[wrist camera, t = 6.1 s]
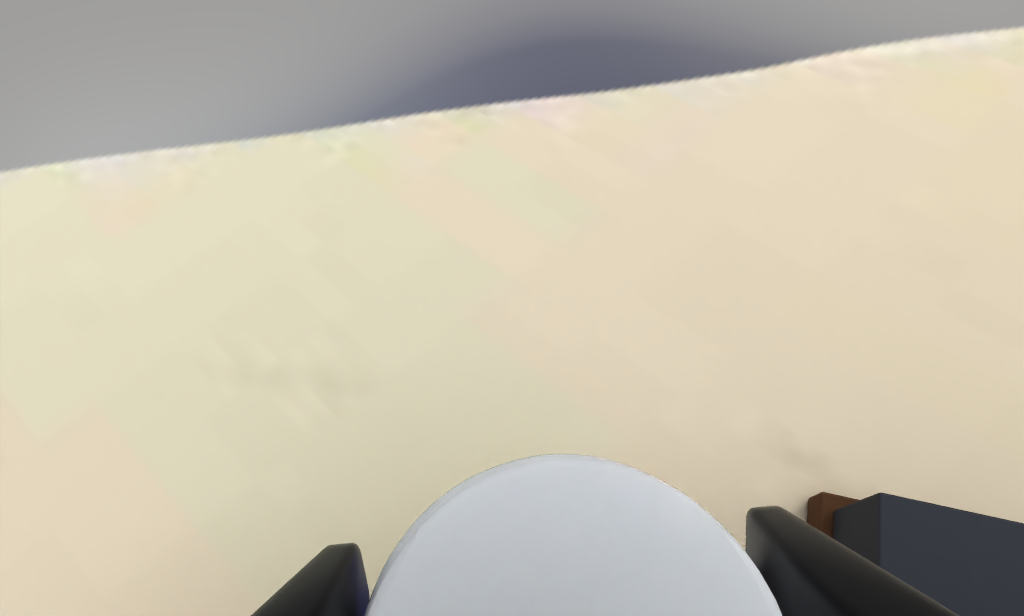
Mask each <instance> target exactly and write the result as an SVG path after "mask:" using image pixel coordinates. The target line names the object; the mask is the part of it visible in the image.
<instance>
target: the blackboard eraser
mask: <svg viewBox="0 0 1024 616" xmlns="http://www.w3.org/2000/svg"><path fill="white" fill-rule="evenodd" d="M807 523H808V524H810V525H811V526H813V527H814V528H816V529H818V530H819V531H821V532H823V533H824V534H826V535H828V536H829V537H831V538H833V539H834V540H836V541H837V542H839V543H841V544H842V545H844V546H846V547H847V548H849V549H851V550H852V551H854V552H856V553H857V554H859V555H860V556H862V557H864V558H865V559H867V560H869V561H870V562H872V563H874V564H875V565H877V566H879V567H880V568H882V569H883V570H885V571H887V572H888V573H890V574H892V575H893V576H895V577H897V578H898V579H900V580H902V581H903V582H905V583H906V584H908V585H910V586H911V587H913V588H915V589H916V590H918V591H920V592H921V593H923V594H925V595H926V596H928V597H929V598H931V599H933V600H934V601H936V602H938V603H939V604H941V605H943V606H944V607H946V608H948V609H949V610H951V611H952V612H954V613H956V614H957V615H959V616H1024V524H1023V523H1019V522H1014V521H1009V520H1005V519H1000V518H996V517H991V516H986V515H982V514H977V513H973V512H968V511H963V510H959V509H954V508H950V507H945V506H940V505H936V504H931V503H927V502H922V501H917V500H913V499H908V498H904V497H899V496H895V495H890V494H885V493H878V494H875V495H873V496H870V497H867V498H865V499H862V500H857V499H852V498H848V497H843V496H839V495H834V494H830V493H825V492H821V493H819V494H817V495H815V496H813V497H811V498H809V502H808V521H807Z"/></svg>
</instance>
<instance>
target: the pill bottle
mask: <svg viewBox="0 0 1024 616" xmlns="http://www.w3.org/2000/svg"><path fill="white" fill-rule="evenodd" d="M365 616H782V614H781V611H780V609H779V606H778V604H777V602H776V599H775V597H774V596H773V594H772V592H771V590H770V589H769V587H768V585H767V583H766V582H765V580H764V578H763V576H762V575H761V573H760V571H759V570H758V568H757V567H756V566H755V564H754V563H753V561H752V560H751V559H750V557H749V556H748V554H747V553H746V552H745V551H744V550H743V548H742V547H741V546H740V545H739V543H738V542H737V541H736V540H735V539H734V538H733V536H732V535H731V534H730V533H729V532H728V531H727V530H726V529H725V528H724V527H723V526H722V525H721V524H720V523H719V522H718V521H717V520H716V519H715V518H714V517H713V516H711V515H710V514H709V513H708V512H707V511H706V510H705V509H703V508H702V507H701V506H700V505H699V504H697V503H696V502H695V501H693V500H692V499H690V498H689V497H688V496H686V495H685V494H684V493H682V492H680V491H679V490H677V489H675V488H673V487H671V486H670V485H668V484H666V483H664V482H662V481H661V480H659V479H657V478H655V477H653V476H651V475H649V474H647V473H645V472H642V471H640V470H637V469H635V468H633V467H630V466H628V465H625V464H621V463H618V462H615V461H611V460H607V459H603V458H598V457H593V456H587V455H574V454H551V455H540V456H533V457H528V458H523V459H519V460H515V461H511V462H508V463H504V464H501V465H498V466H496V467H493V468H491V469H488V470H486V471H484V472H481V473H479V474H477V475H475V476H473V477H471V478H469V479H467V480H465V481H464V482H462V483H460V484H459V485H457V486H456V487H454V488H453V489H451V490H450V491H448V492H447V493H446V494H444V495H443V496H442V497H440V498H439V499H438V500H437V501H436V502H435V503H433V504H432V505H431V506H430V507H429V508H428V509H427V510H426V511H425V512H424V513H423V514H422V515H421V516H420V517H419V518H418V519H417V520H416V521H415V522H414V524H413V525H412V526H411V527H410V528H409V530H408V531H407V532H406V534H405V535H404V536H403V538H402V539H401V540H400V542H399V543H398V545H397V546H396V548H395V549H394V551H393V552H392V554H391V555H390V557H389V559H388V560H387V562H386V564H385V566H384V567H383V569H382V571H381V574H380V576H379V578H378V580H377V583H376V585H375V587H374V590H373V592H372V595H371V597H370V600H369V602H368V605H367V608H366V612H365Z"/></svg>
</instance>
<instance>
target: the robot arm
mask: <svg viewBox="0 0 1024 616" xmlns="http://www.w3.org/2000/svg"><path fill="white" fill-rule="evenodd" d="M746 553H747V554H748V556H749V557H750V559H751V560H752V561H753V563H754V564H755V566H756V567H757V568H758V570H759V571H760V573H761V575H762V576H763V578H764V580H765V582H766V583H767V585H768V587H769V589H770V590H771V592H772V594H773V596H774V597H775V599H776V602H777V604H778V606H779V609H780V611H781V614H782V616H959V615H957V614H956V613H954V612H952V611H951V610H949V609H948V608H946V607H944V606H943V605H941V604H939V603H938V602H936V601H934V600H933V599H931V598H929V597H928V596H926V595H925V594H923V593H921V592H920V591H918V590H916V589H915V588H913V587H911V586H910V585H908V584H906V583H905V582H903V581H902V580H900V579H898V578H897V577H895V576H893V575H892V574H890V573H888V572H887V571H885V570H883V569H882V568H880V567H879V566H877V565H875V564H874V563H872V562H870V561H869V560H867V559H865V558H864V557H862V556H860V555H859V554H857V553H856V552H854V551H852V550H851V549H849V548H847V547H846V546H844V545H842V544H841V543H839V542H837V541H836V540H834V539H833V538H831V537H829V536H828V535H826V534H824V533H823V532H821V531H819V530H818V529H816V528H814V527H813V526H811V525H810V524H808V523H806V522H805V521H803V520H801V519H800V518H798V517H796V516H795V515H793V514H791V513H790V512H788V511H787V510H785V509H783V508H781V507H779V506H767V507H756V508H751V509H750V510H749V511H748V513H747V516H746ZM368 602H369V589H368V584H367V579H366V575H365V570H364V565H363V560H362V556H361V551H360V549H359V547H358V546H357V545H356V544H355V543H348V544H336V545H329V546H327V547H326V548H324V549H323V550H322V551H321V552H320V553H319V554H318V555H317V556H316V557H314V558H313V559H312V560H311V561H310V562H309V563H308V564H307V565H306V566H305V567H304V568H302V569H301V570H300V571H299V572H298V573H297V574H296V575H295V576H294V577H293V578H292V579H290V580H289V581H288V582H287V583H286V584H285V585H284V586H283V587H282V588H281V589H279V590H278V591H277V592H276V593H275V594H274V595H273V596H272V597H271V598H270V599H269V600H267V601H266V602H265V603H264V604H263V605H262V606H261V607H260V608H259V609H258V610H257V611H255V612H254V613H253V614H252V615H251V616H365V612H366V608H367V605H368Z"/></svg>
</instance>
